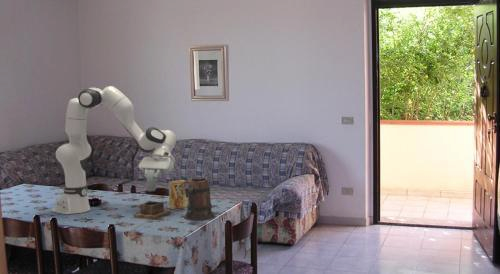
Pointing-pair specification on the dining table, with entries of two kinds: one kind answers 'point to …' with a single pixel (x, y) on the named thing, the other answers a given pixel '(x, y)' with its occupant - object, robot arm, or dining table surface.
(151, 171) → the grey peg
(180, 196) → the candy box
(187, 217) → the tankard
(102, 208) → the dining table surface
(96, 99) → the robot arm
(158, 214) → the slot stand
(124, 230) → the dining table surface
